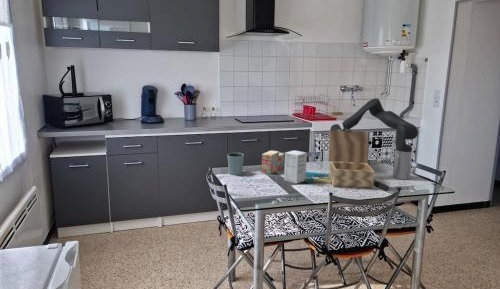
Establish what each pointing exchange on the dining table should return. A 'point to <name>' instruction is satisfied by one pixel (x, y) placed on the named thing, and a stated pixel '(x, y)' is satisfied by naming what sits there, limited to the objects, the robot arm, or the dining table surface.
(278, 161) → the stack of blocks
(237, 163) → the green cup
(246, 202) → the dining table surface
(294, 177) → the supplement box
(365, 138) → the box lid
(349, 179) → the oak box
